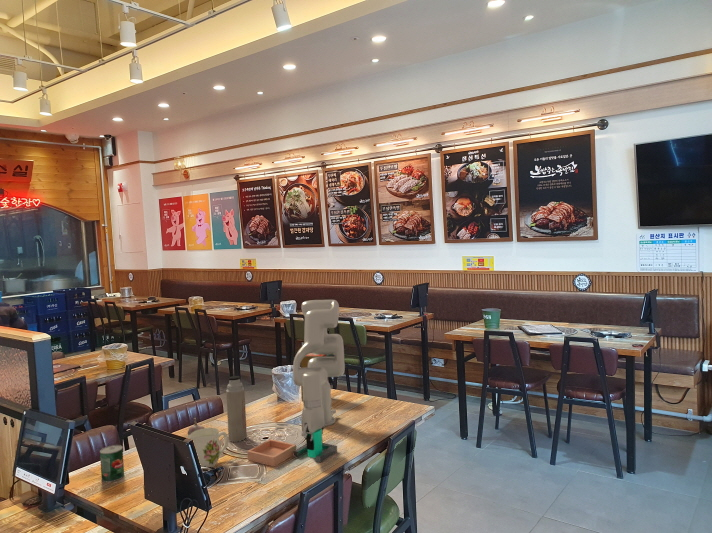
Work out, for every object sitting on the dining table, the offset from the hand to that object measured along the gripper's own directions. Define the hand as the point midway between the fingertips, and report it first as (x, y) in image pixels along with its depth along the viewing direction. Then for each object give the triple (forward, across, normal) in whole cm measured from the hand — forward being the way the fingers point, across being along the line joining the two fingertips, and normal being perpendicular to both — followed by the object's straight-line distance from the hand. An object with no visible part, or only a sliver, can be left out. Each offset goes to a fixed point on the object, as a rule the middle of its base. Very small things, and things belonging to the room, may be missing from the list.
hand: (314, 446), depth 208 cm
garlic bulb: (+4, +6, -63) cm, 63 cm away
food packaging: (+4, -61, -44) cm, 75 cm away
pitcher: (+4, +26, -33) cm, 42 cm away
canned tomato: (+4, +51, -58) cm, 77 cm away
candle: (+4, 0, 0) cm, 4 cm away
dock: (+4, 0, 0) cm, 4 cm away
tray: (+4, +9, -15) cm, 18 cm away
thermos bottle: (+4, +1, -42) cm, 42 cm away
